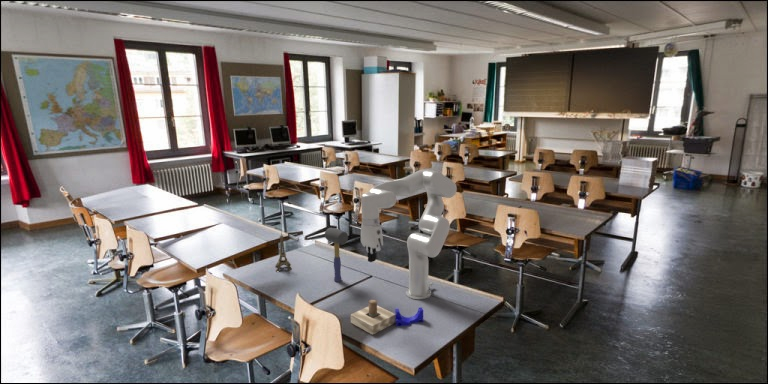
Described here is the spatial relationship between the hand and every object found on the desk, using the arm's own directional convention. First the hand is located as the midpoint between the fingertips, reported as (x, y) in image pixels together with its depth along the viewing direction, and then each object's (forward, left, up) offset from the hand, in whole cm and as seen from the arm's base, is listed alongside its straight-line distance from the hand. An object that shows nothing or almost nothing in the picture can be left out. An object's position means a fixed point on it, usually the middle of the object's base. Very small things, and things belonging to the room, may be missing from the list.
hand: (371, 260), depth 184 cm
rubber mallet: (-12, -40, -27) cm, 50 cm away
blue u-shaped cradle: (-7, +16, -27) cm, 32 cm away
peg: (+4, +5, -26) cm, 27 cm away
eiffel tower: (-1, -77, -27) cm, 82 cm away
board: (+4, +5, -26) cm, 27 cm away
